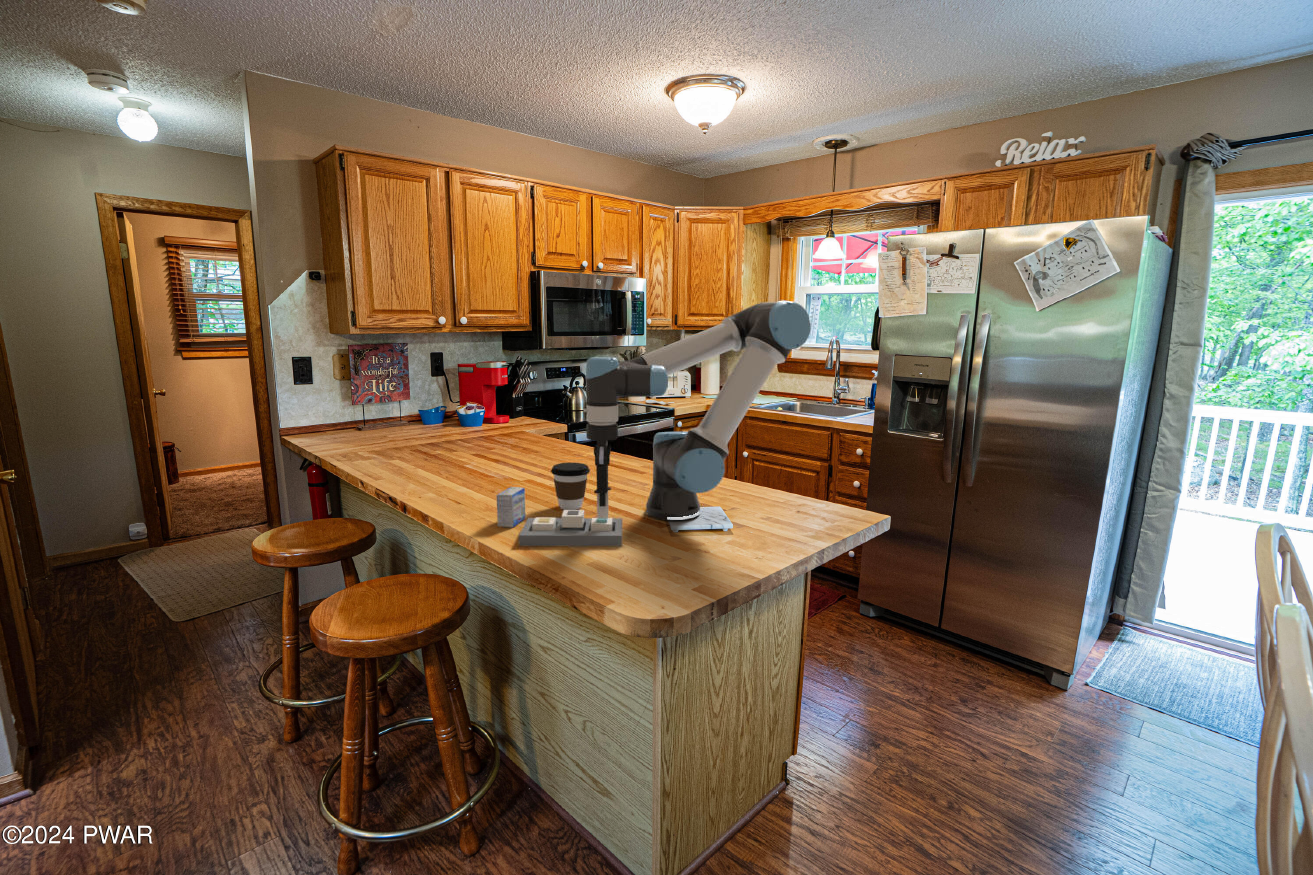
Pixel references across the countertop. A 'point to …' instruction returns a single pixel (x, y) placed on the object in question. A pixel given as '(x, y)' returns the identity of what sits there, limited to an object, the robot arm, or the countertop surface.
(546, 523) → the key
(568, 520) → the key
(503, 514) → the medicine box
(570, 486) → the coffee cup
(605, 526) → the key
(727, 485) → the countertop surface
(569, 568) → the countertop surface
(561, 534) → the keypad board
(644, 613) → the countertop surface
